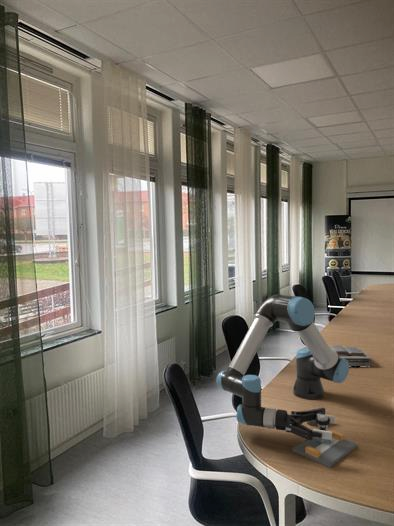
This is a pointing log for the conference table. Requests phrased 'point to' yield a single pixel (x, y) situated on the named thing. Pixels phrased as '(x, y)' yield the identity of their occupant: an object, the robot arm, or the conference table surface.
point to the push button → (323, 427)
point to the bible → (352, 355)
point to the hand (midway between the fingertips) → (333, 427)
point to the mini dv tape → (319, 411)
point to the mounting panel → (326, 449)
